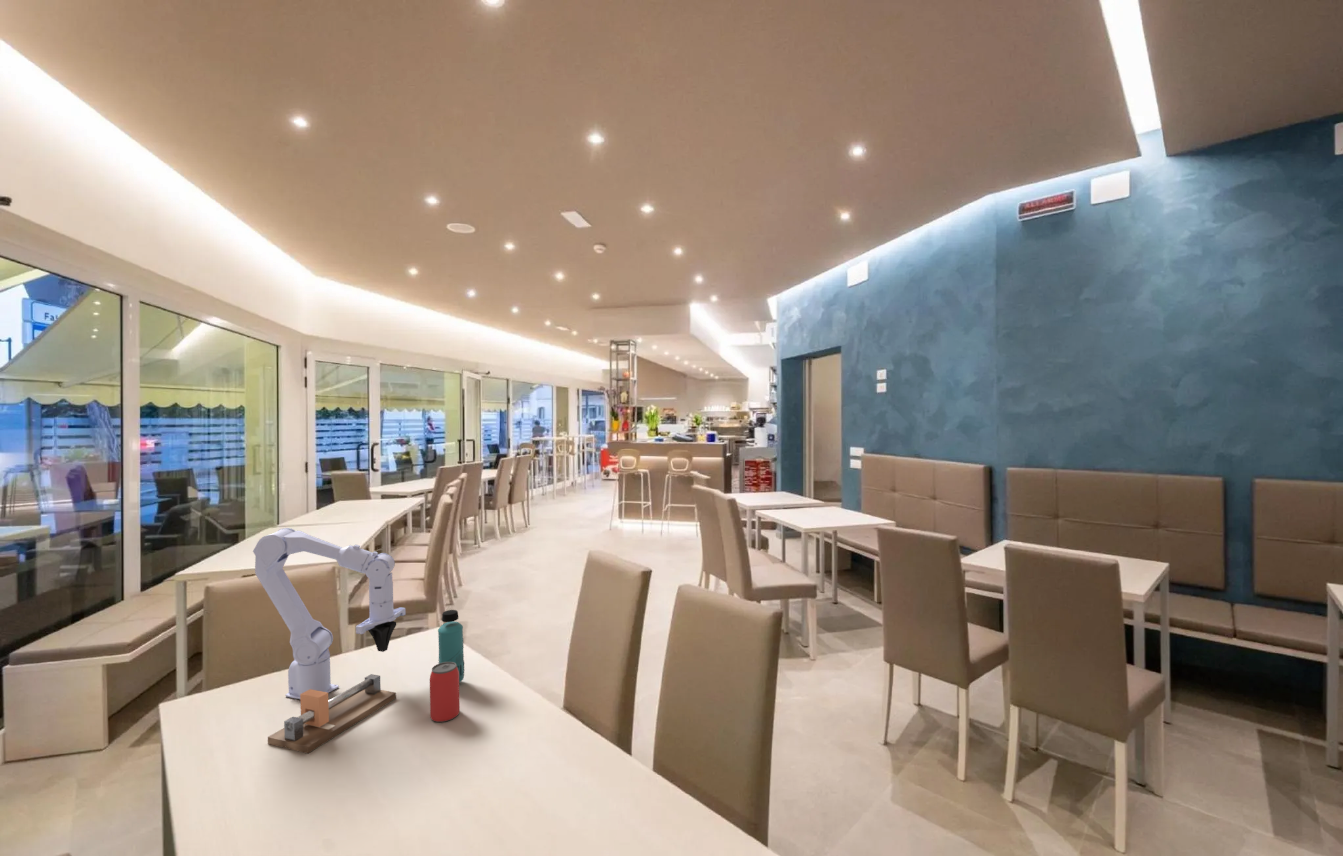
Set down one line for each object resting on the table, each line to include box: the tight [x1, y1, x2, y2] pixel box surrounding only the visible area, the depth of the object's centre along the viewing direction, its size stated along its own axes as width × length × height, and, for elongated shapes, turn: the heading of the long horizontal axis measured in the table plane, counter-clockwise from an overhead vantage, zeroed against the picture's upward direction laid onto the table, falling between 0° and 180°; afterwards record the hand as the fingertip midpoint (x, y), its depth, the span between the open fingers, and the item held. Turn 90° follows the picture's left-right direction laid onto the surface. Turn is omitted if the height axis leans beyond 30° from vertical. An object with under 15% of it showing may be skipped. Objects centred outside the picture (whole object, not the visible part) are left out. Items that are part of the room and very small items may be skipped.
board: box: [267, 689, 397, 754], centre depth 131 cm, size 12×24×2 cm, turn 162°
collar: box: [299, 689, 329, 727], centre depth 125 cm, size 6×2×7 cm, turn 72°
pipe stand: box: [283, 673, 382, 742], centre depth 131 cm, size 3×23×4 cm, turn 162°
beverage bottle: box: [437, 609, 466, 683], centre depth 147 cm, size 6×7×20 cm
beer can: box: [429, 662, 461, 723], centre depth 132 cm, size 7×7×12 cm
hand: (382, 650), depth 147 cm, fingers closed
